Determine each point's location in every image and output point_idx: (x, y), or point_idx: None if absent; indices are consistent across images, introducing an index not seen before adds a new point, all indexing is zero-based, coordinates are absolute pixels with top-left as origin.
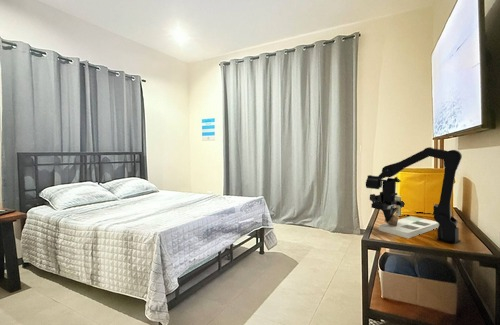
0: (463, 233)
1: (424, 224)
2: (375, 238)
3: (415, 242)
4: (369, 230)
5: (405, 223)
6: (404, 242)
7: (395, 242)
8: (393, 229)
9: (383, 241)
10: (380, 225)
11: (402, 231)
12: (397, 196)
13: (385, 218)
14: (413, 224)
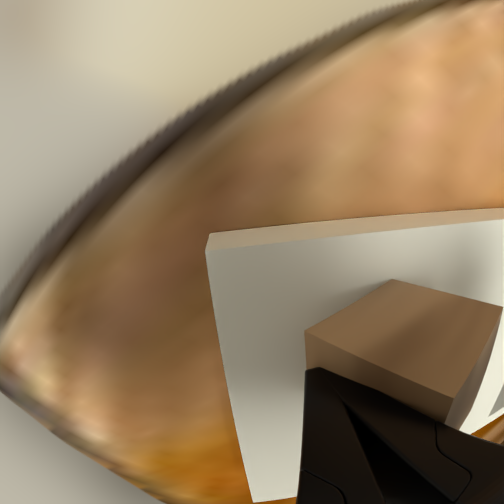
0: (499, 435)
1: None
2: (28, 372)
3: (226, 499)
4: (105, 181)
5: (501, 331)
6: (166, 484)
7: (113, 465)
8: (238, 435)
9: (52, 425)
10: (230, 271)
11: (253, 482)
12: None
13: (304, 410)
14: (499, 371)
